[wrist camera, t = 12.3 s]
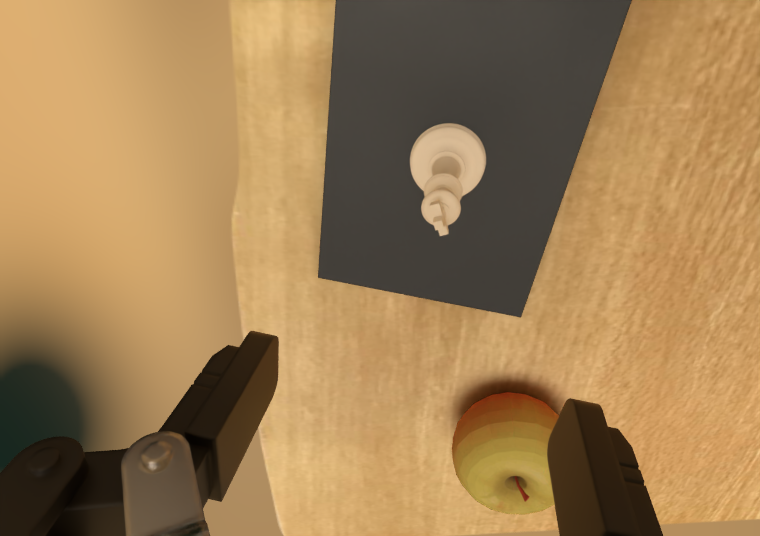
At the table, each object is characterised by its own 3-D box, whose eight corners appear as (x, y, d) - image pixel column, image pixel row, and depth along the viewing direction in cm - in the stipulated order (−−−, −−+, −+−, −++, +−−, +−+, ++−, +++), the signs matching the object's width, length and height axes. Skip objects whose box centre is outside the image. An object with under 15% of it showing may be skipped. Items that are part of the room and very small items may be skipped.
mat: (341, -58, 26) (339, -59, 26) (635, -17, 25) (637, -17, 24) (319, 274, 38) (317, 277, 37) (520, 313, 36) (520, 317, 36)
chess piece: (422, 204, 33) (405, 279, 24) (400, 136, 30) (372, 191, 22) (493, 185, 31) (502, 258, 23) (475, 112, 29) (477, 162, 20)
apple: (575, 448, 42) (595, 535, 36) (469, 458, 45) (469, 541, 39) (555, 366, 38) (574, 447, 31) (440, 384, 41) (434, 461, 34)
